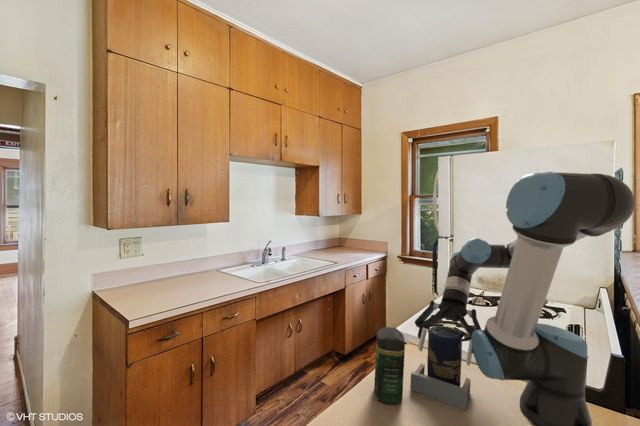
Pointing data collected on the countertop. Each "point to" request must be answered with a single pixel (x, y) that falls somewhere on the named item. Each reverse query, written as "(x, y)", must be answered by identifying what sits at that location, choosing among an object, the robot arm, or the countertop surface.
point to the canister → (444, 354)
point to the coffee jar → (389, 365)
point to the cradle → (466, 386)
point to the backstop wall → (439, 390)
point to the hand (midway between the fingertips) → (443, 356)
